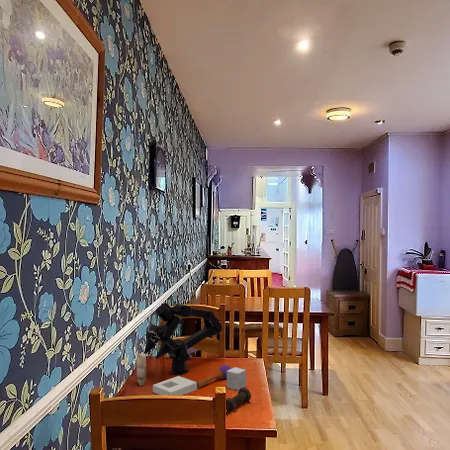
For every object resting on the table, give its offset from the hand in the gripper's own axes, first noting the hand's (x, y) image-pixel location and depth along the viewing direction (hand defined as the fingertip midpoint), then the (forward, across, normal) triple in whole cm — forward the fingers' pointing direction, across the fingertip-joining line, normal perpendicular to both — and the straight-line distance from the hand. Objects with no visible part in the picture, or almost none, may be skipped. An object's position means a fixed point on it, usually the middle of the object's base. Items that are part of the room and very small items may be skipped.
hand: (150, 356), depth 183 cm
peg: (+11, 0, +5) cm, 12 cm away
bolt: (+3, +46, +14) cm, 48 cm away
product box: (-7, +33, +24) cm, 41 cm away
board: (+7, +17, +9) cm, 20 cm away
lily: (-13, -13, +29) cm, 35 cm away
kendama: (-5, +21, +22) cm, 31 cm away
